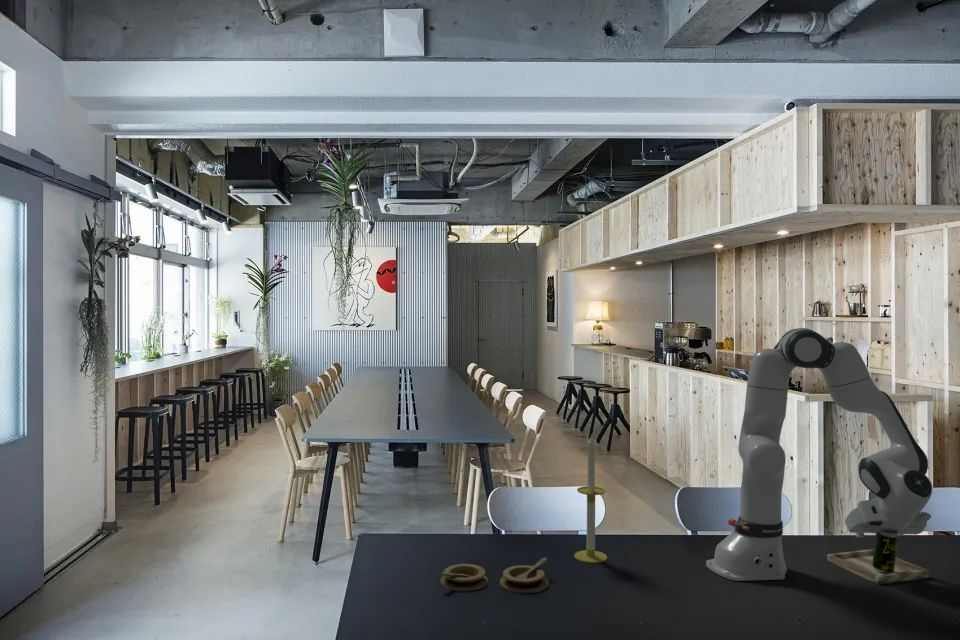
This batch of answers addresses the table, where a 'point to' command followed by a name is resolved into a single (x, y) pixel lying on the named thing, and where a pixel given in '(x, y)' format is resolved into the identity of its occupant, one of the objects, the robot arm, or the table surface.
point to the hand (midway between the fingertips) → (875, 535)
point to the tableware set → (520, 576)
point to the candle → (591, 511)
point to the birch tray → (863, 567)
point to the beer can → (885, 551)
